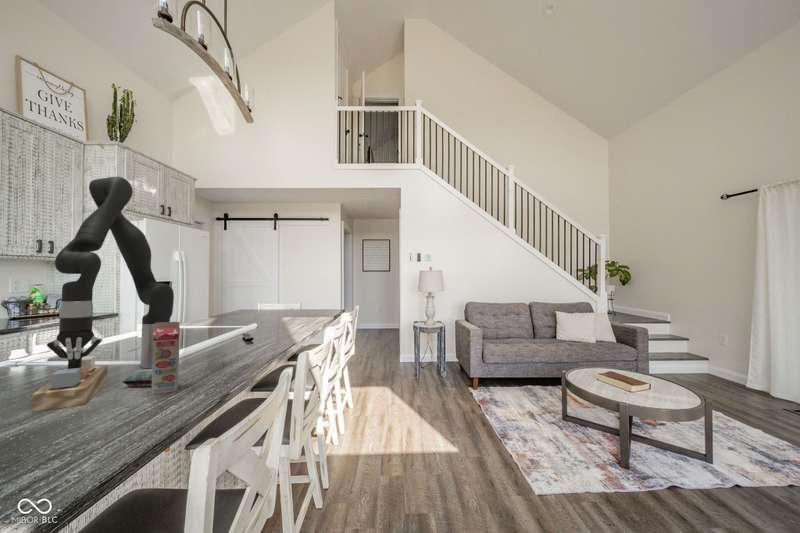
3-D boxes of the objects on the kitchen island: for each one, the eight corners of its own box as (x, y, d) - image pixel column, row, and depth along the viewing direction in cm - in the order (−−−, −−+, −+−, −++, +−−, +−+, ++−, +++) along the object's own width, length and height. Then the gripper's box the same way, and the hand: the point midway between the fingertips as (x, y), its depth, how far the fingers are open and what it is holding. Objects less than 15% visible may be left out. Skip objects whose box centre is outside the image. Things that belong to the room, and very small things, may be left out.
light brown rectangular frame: (107, 378, 120) (107, 365, 120) (85, 404, 98) (86, 388, 98) (65, 383, 115) (65, 369, 115) (31, 411, 92) (32, 394, 92)
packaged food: (137, 380, 120) (137, 366, 120) (173, 379, 121) (174, 365, 121) (120, 389, 111) (121, 374, 111) (159, 388, 113) (160, 373, 113)
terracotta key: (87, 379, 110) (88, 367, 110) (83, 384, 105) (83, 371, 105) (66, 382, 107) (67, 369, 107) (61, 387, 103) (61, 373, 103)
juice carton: (154, 387, 112) (156, 321, 113) (178, 384, 116) (180, 320, 116) (151, 394, 106) (153, 324, 107) (176, 391, 110) (178, 323, 110)
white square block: (94, 367, 117) (95, 355, 117) (90, 371, 112) (91, 359, 112) (75, 369, 114) (75, 357, 114) (70, 373, 110) (70, 360, 110)
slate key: (80, 381, 103) (80, 367, 103) (75, 386, 99) (75, 372, 99) (57, 383, 100) (58, 369, 100) (51, 388, 96) (51, 374, 96)
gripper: (107, 312, 113) (105, 365, 113) (52, 314, 107) (50, 370, 106) (101, 315, 107) (99, 371, 106) (42, 317, 100) (40, 376, 100)
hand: (74, 370), depth 106 cm, fingers closed
